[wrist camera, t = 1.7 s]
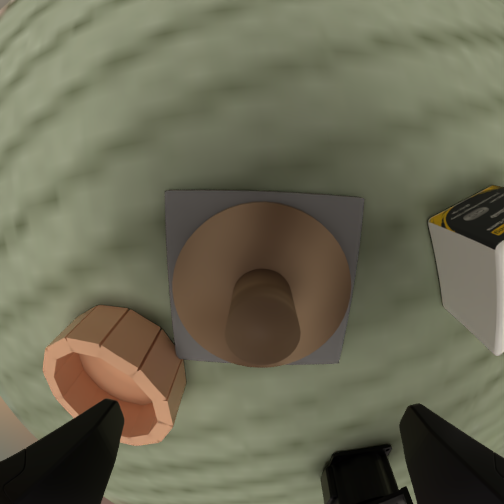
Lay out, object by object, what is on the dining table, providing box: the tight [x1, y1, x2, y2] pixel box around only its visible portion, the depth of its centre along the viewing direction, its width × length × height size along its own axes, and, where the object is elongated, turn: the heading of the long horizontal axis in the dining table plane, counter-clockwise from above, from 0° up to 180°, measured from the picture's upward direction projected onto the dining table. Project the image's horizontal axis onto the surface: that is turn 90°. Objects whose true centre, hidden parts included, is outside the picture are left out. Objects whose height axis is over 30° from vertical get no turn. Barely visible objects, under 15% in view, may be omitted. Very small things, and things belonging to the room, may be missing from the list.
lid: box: [172, 201, 351, 367], centre depth 14 cm, size 10×10×5 cm
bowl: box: [43, 305, 186, 446], centre depth 17 cm, size 10×10×4 cm
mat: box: [165, 190, 364, 365], centre depth 17 cm, size 11×11×1 cm
